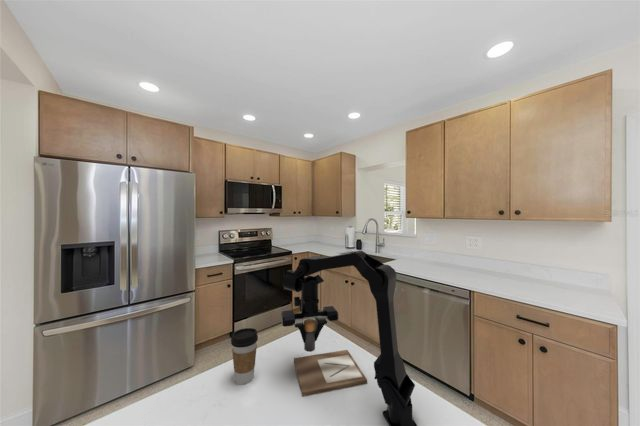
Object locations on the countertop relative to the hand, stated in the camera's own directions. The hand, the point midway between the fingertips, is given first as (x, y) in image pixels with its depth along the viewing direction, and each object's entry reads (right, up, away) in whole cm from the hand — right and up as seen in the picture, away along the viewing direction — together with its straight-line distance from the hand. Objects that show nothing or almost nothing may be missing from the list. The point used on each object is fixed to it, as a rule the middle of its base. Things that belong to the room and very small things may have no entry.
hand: (309, 341), depth 78 cm
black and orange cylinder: (0, -3, 0) cm, 3 cm away
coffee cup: (-21, -11, -2) cm, 24 cm away
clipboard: (+6, -11, +2) cm, 13 cm away
